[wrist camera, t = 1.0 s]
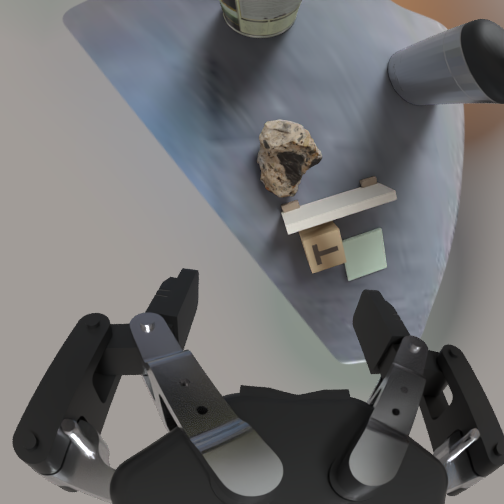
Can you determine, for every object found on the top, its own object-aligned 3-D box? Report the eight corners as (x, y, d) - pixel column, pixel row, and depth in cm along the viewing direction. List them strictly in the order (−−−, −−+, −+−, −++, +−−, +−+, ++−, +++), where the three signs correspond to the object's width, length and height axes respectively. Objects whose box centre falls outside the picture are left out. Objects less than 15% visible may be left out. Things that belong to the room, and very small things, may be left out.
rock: (333, 190, 35) (339, 132, 27) (294, 219, 34) (291, 162, 25) (290, 158, 39) (284, 102, 31) (252, 182, 38) (238, 127, 29)
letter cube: (329, 217, 38) (339, 229, 34) (337, 248, 40) (346, 262, 36) (297, 228, 39) (302, 241, 35) (306, 258, 41) (312, 274, 37)
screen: (375, 175, 36) (394, 183, 30) (380, 196, 37) (398, 206, 31) (278, 205, 38) (282, 218, 32) (285, 226, 39) (290, 241, 34)
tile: (379, 227, 39) (381, 228, 38) (385, 265, 41) (386, 267, 41) (339, 241, 40) (340, 242, 39) (347, 279, 42) (348, 281, 42)
